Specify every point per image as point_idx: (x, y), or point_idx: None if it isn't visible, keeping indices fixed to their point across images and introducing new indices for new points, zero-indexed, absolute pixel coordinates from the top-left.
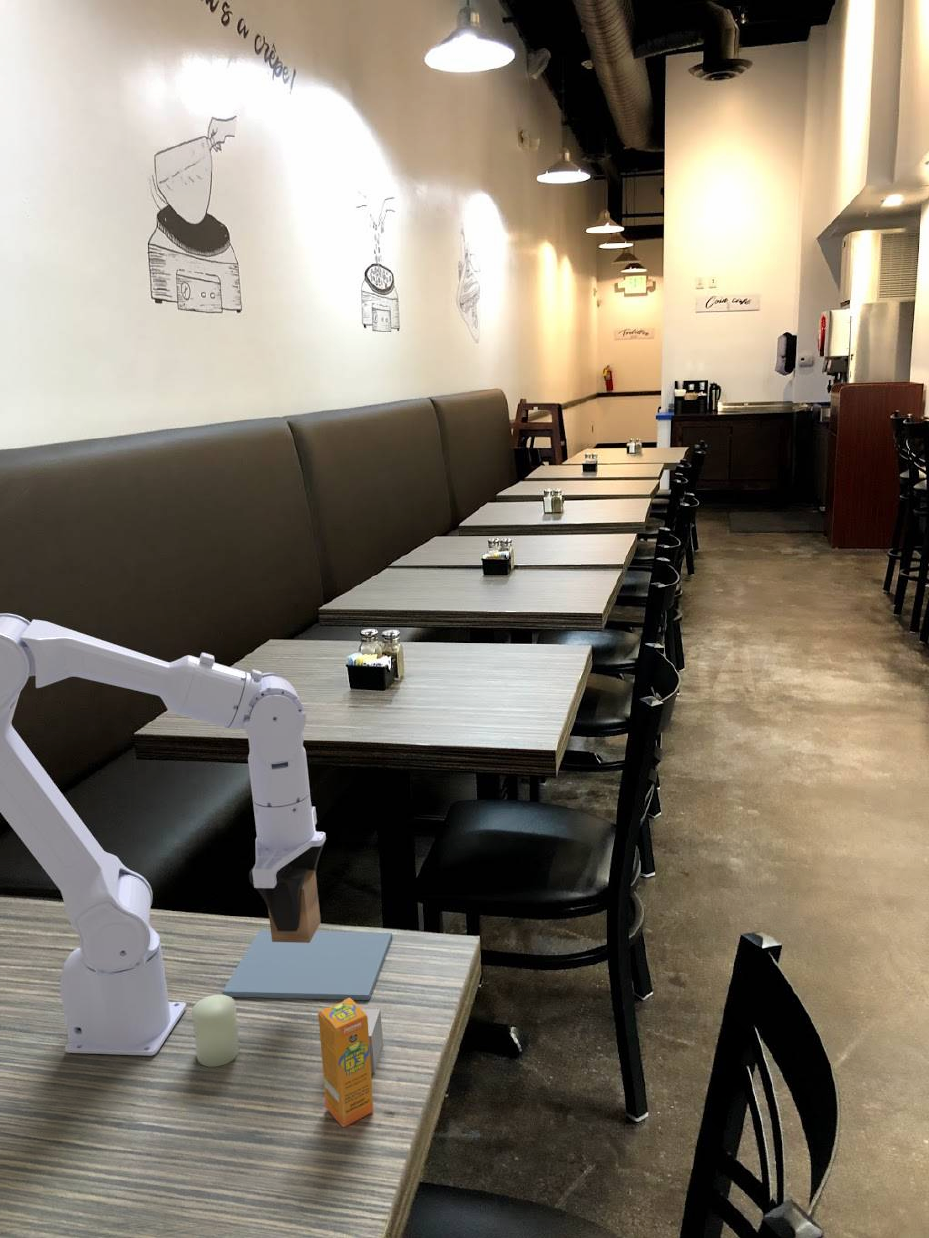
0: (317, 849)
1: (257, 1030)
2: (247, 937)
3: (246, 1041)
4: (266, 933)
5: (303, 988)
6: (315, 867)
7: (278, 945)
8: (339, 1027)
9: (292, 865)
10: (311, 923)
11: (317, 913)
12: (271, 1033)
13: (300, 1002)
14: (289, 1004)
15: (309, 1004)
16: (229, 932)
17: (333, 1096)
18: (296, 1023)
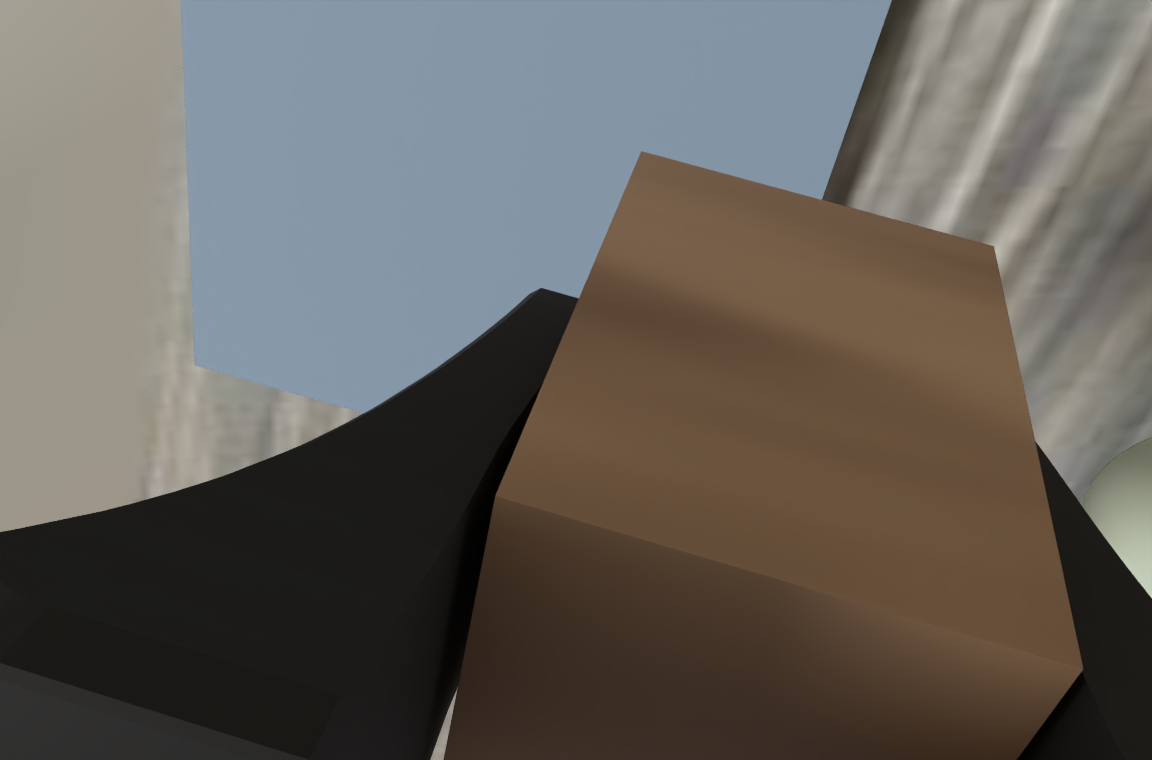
0: (338, 723)
1: (1070, 351)
2: (228, 402)
3: (1148, 397)
4: (219, 334)
5: (789, 133)
6: (383, 476)
7: (330, 276)
8: None
9: (413, 755)
10: (895, 285)
11: (685, 223)
12: (1132, 285)
13: (878, 138)
14: (879, 198)
15: (917, 85)
16: (192, 471)
17: None
18: (1091, 156)
